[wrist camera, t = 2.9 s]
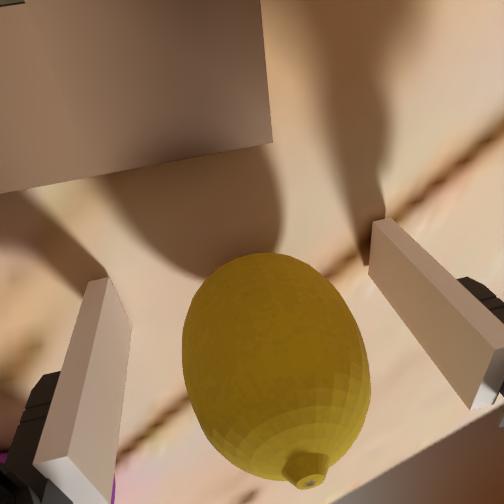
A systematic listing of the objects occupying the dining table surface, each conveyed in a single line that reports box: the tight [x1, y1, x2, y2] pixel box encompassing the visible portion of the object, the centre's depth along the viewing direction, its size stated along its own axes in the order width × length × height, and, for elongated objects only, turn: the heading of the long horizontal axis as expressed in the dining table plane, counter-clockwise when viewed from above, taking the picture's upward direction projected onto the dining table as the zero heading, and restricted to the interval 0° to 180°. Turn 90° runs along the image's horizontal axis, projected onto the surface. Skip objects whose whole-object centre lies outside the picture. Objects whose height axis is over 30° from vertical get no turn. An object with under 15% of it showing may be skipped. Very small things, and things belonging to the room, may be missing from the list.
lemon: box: [182, 252, 371, 489], centre depth 11 cm, size 6×6×8 cm
